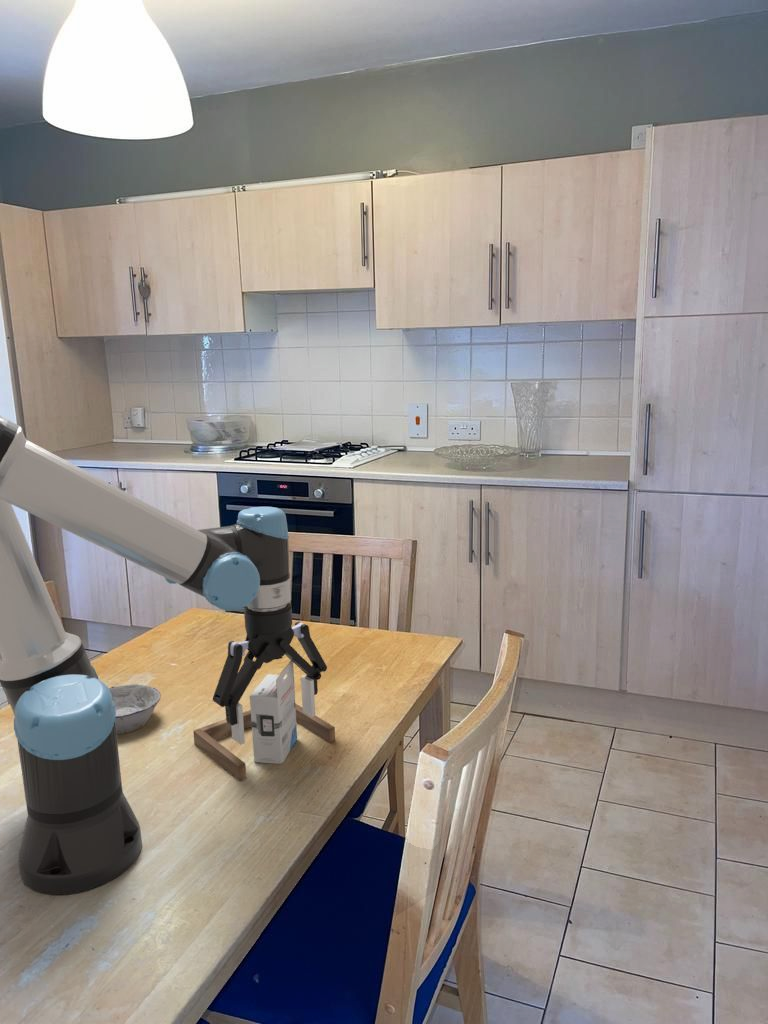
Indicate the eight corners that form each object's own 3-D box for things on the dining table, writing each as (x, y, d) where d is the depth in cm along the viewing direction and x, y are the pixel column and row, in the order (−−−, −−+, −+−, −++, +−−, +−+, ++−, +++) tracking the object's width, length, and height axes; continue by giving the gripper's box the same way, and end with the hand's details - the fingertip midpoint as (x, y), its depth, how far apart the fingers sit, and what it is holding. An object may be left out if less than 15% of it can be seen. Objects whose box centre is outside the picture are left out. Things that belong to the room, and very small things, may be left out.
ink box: (270, 736, 134) (266, 656, 131) (298, 739, 133) (294, 658, 130) (253, 762, 126) (247, 677, 122) (282, 765, 125) (277, 679, 121)
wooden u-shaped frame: (239, 780, 120) (238, 766, 120) (194, 744, 132) (193, 730, 131) (335, 740, 132) (334, 726, 131) (286, 709, 143) (285, 697, 143)
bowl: (70, 731, 138) (67, 705, 137) (126, 701, 149) (123, 678, 148) (123, 747, 132) (120, 721, 130) (176, 715, 142) (174, 691, 141)
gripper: (207, 630, 113) (217, 762, 118) (344, 592, 129) (348, 710, 133) (184, 617, 119) (195, 744, 123) (318, 582, 134) (323, 696, 139)
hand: (274, 727), depth 128 cm, fingers open, 13 cm apart
